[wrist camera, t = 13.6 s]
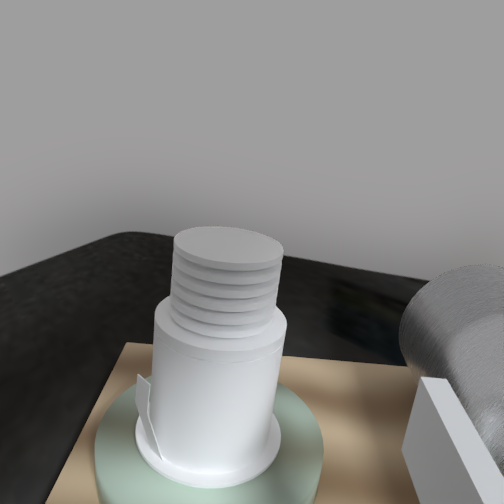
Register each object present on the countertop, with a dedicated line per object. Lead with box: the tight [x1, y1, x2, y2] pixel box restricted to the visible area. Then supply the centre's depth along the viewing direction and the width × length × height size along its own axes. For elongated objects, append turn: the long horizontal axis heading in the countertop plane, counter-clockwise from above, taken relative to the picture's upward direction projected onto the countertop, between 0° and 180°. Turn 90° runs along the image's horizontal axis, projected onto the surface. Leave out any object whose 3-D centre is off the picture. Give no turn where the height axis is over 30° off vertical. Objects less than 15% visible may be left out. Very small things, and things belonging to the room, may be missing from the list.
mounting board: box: [45, 342, 420, 504], centre depth 24 cm, size 20×27×4 cm
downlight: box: [135, 226, 287, 488], centre depth 21 cm, size 8×7×10 cm
